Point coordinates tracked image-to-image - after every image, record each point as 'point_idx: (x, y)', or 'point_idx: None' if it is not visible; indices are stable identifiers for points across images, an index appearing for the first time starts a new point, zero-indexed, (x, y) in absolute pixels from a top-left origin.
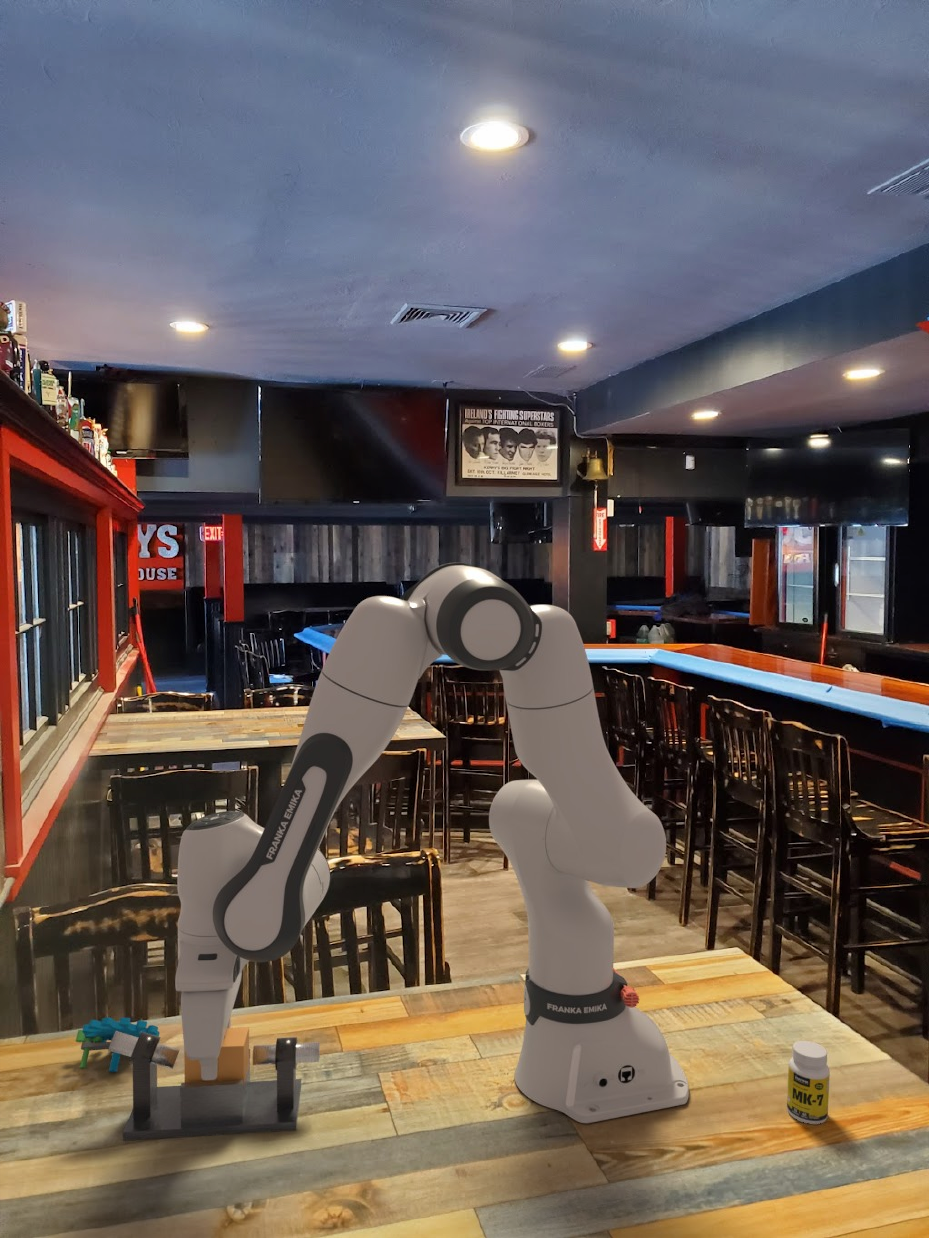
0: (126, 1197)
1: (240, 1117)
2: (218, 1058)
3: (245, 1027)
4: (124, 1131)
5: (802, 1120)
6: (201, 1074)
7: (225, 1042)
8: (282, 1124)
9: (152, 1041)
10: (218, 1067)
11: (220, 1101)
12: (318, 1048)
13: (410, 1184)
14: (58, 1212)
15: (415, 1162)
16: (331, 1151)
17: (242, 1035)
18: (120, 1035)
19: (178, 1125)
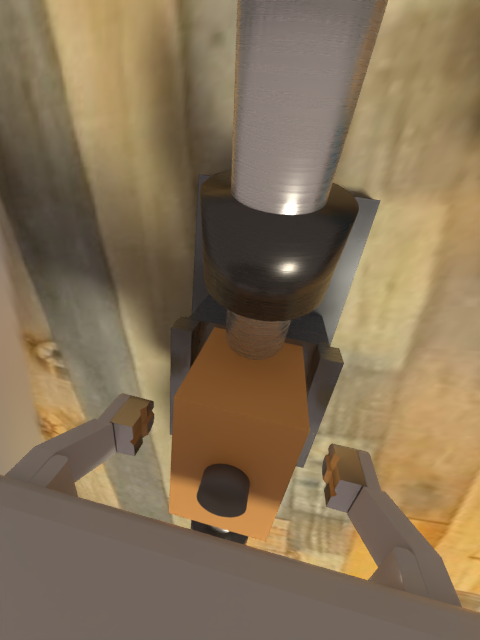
0: (54, 205)
1: None
2: (133, 455)
3: (265, 536)
4: (200, 177)
5: None
6: (114, 400)
7: (193, 488)
8: None
9: (232, 290)
10: (142, 435)
11: None
12: None
13: (97, 484)
14: (3, 68)
15: (126, 495)
16: (146, 448)
17: (222, 522)
18: (279, 61)
19: (204, 289)
